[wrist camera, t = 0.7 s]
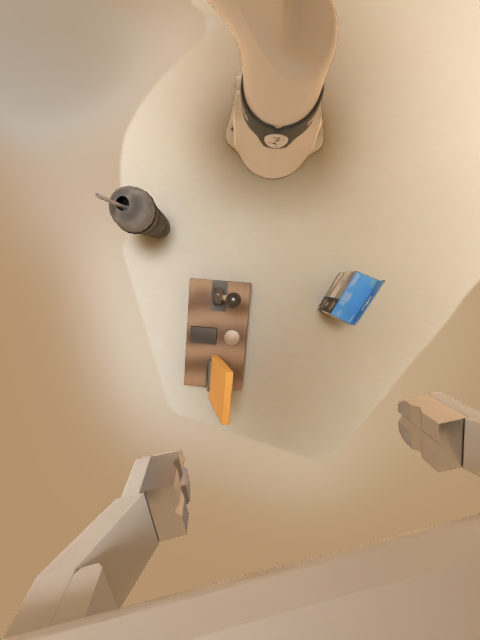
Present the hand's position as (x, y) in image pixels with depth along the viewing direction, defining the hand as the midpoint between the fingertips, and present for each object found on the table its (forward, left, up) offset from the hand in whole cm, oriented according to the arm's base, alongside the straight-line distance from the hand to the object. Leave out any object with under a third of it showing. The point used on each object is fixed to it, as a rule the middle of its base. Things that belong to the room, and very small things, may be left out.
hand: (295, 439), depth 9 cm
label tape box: (-5, +16, -46) cm, 49 cm away
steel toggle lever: (-3, -8, -41) cm, 42 cm away
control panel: (+5, -8, -46) cm, 47 cm away
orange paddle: (+13, -8, -41) cm, 43 cm away
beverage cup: (-16, -22, -46) cm, 54 cm away
